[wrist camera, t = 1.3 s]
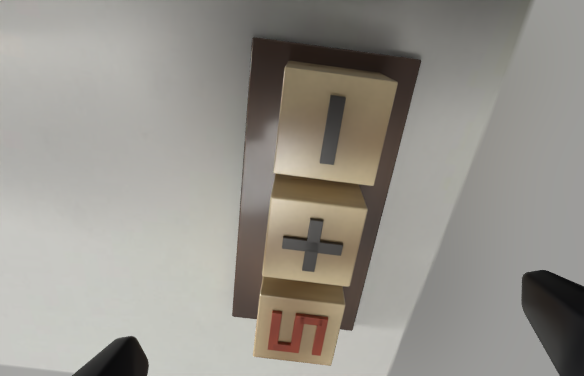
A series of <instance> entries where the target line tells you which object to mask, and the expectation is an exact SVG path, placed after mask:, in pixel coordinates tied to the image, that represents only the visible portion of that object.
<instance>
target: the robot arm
mask: <svg viewBox="0 0 584 376" xmlns="http://www.w3.org/2000/svg"><path fill="white" fill-rule="evenodd" d="M522 307H523V311H524V313H525V315H526V317H527V318H528V320H529V322H530V324H531V326H532V327H533V329H534V331H535V333H536V334H537V336H538V338H539V340H540V341H541V343H542V345H543V347H544V348H545V350H546V352H547V354H548V356H549V357H550V359H551V361H552V363H553V364H554V366H555V368H556V370H557V371H558V373H559V375H560V376H584V286H581V285H579V284H577V283H574V282H572V281H570V280H567V279H565V278H563V277H560V276H558V275H556V274H554V273H551V272H549V271H546V270H539V271H533V272H527V273H525V274H524V275H523V277H522ZM148 367H149V364H148V359H147V357H146V355H145V353H144V351H143V350H142V348H141V346H140V344H139V342H138V340H137V339H136V338H135V337H133V336H128V337H122V338H118V339H116V340H114V341H113V342H112V343H111V344H109V345H108V346H107V347H106V348H105V349H103V350H102V351H101V352H100V353H99V354H97V355H96V356H95V357H94V358H93V359H91V360H90V361H89V362H88V363H87V364H85V365H84V366H83V367H82V368H81V369H79V370H78V371H77V372H76V373H75V374H73V375H72V376H147V373H148Z"/></svg>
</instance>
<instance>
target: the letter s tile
mask: <svg viewBox="0 0 584 376" xmlns="http://www.w3.org/2000/svg"><path fill="white" fill-rule="evenodd" d="M344 309H345V299H344V292H343V286H338V285H330V284H322V283H313V282H305V281H297V280H289V279H281V278H272V277H264V276H263V279H262V284H261V290H260V296H259V306H258V315H257V324H256V333H255V342H254V351H253V356H254V357H261V358H269V359H278V360H286V361H295V362H303V363H312V364H320V365H329V366H331V364H332V360H333V356H334V351H335V347H336V343H337V339H338V335H339V330H340V326H341V322H342V318H343V313H344Z"/></svg>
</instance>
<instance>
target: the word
mask: <svg viewBox="0 0 584 376" xmlns="http://www.w3.org/2000/svg"><path fill="white" fill-rule="evenodd" d="M420 64H421V60H419V59H413V58H405V57H398V56H391V55H383V54H376V53H368V52H361V51H353V50H346V49H339V48H331V47H324V46H316V45H309V44H302V43H294V42H287V41H279V40H272V39H264V38H257V37H253V38H252V49H251V63H250V77H249V90H248V104H247V118H246V132H245V146H244V160H243V173H242V187H241V201H240V215H239V229H238V243H237V256H236V270H235V284H234V298H233V312H232V316H234V317H242V318H251V319H257V315H258V306H259V296H260V290H261V284H262V279H263V276H264V277H272V278H281V279H289V280H297V281H305V282H313V283H322V284H330V285H338V286H343V292H344V299H345V309H344V313H343V318H342V322H341V326H340V329H343V330H351V331H352V330H353V326H354V322H355V318H356V314H357V310H358V306H359V303H360V299H361V295H362V291H363V287H364V283H365V279H366V275H367V271H368V267H369V263H370V260H371V256H372V252H373V248H374V244H375V240H376V236H377V232H378V228H379V224H380V220H381V216H382V213H383V209H384V205H385V201H386V197H387V193H388V189H389V185H390V181H391V177H392V173H393V170H394V166H395V162H396V158H397V154H398V150H399V146H400V142H401V138H402V134H403V130H404V127H405V123H406V119H407V115H408V111H409V107H410V103H411V99H412V95H413V91H414V87H415V83H416V80H417V76H418V72H419V68H420Z"/></svg>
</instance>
